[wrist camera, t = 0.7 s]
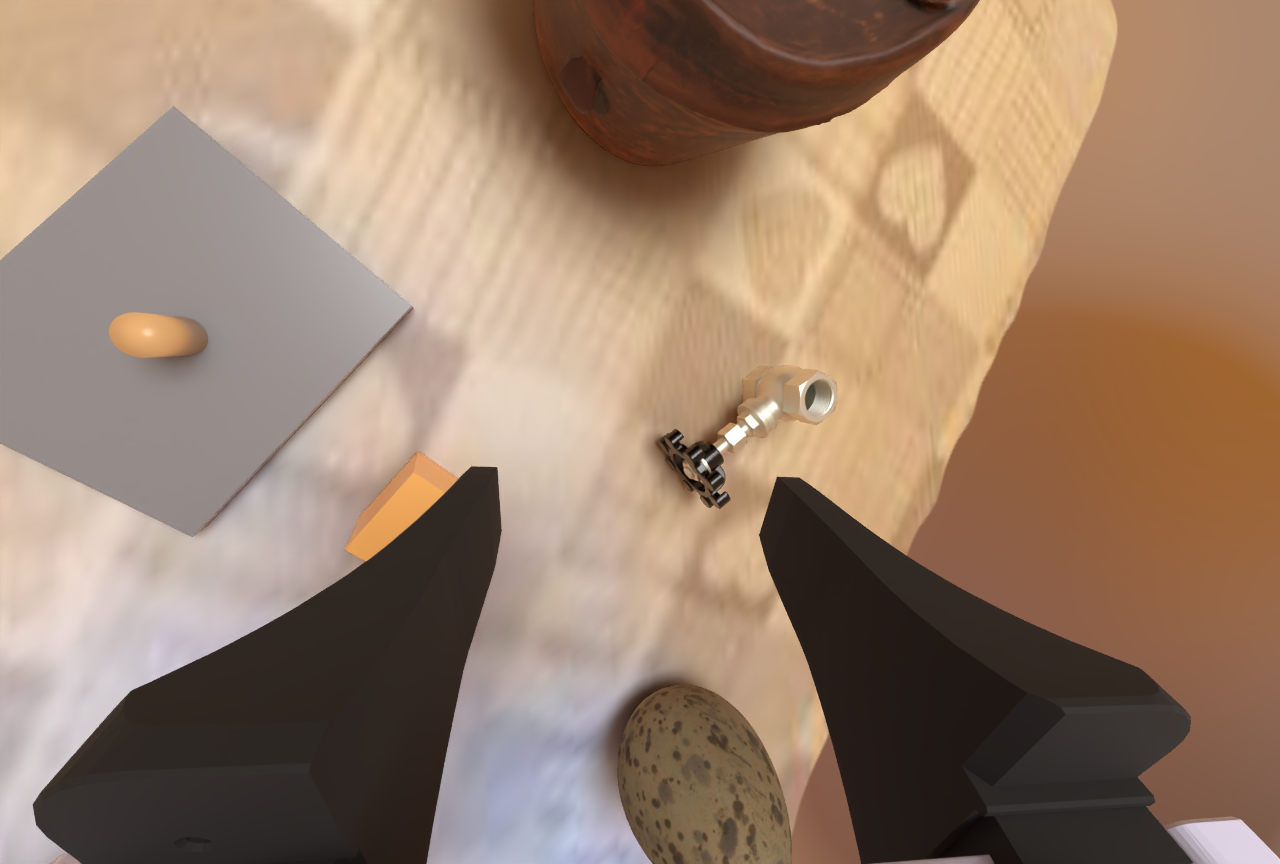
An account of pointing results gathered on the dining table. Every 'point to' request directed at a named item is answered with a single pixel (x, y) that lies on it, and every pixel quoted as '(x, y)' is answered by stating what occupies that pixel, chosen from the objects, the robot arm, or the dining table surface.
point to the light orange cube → (399, 505)
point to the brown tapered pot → (727, 65)
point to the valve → (751, 424)
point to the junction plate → (167, 268)
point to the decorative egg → (700, 783)
